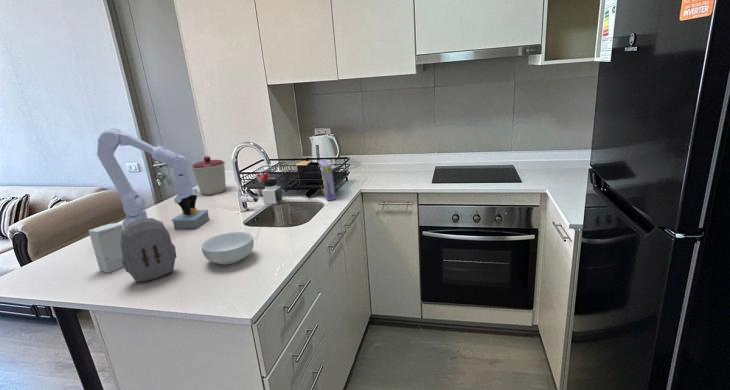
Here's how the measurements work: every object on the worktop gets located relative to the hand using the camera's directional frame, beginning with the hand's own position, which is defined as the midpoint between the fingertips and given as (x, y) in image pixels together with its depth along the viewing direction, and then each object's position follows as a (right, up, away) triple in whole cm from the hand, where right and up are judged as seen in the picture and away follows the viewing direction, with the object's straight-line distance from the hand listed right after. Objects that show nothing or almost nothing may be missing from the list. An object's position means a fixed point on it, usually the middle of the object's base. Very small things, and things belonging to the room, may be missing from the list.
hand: (190, 213), depth 167 cm
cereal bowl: (+30, -14, -36) cm, 49 cm away
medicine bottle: (+30, +4, +26) cm, 40 cm away
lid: (0, -2, +1) cm, 2 cm away
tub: (0, -5, +2) cm, 5 cm away
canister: (-10, +9, +52) cm, 54 cm away
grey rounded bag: (+9, -19, -45) cm, 49 cm away
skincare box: (-10, -17, -35) cm, 40 cm away
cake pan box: (+58, +8, +29) cm, 65 cm away
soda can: (+23, +8, +40) cm, 47 cm away
